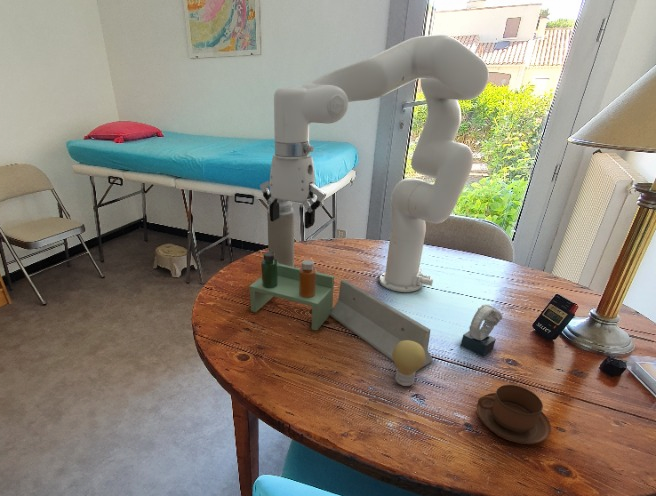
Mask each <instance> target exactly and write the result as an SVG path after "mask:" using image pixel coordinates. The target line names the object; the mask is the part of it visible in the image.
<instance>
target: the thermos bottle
mask: <svg viewBox="0 0 656 496" xmlns="http://www.w3.org/2000/svg"><path fill="white" fill-rule="evenodd" d="M277 202H279V218H278V219H277V220H275V221H270V210H269V208H268V209H267V210H266V212H267V213H266V214H267V215H266V216H267V247H268V249H267V250H268V251H267V252H274V253H275V259H276V260H277V263H279V264H283V265H288V266H292V267H295V209H294V208H293V202H292V201H286V200H280V199H279V200H278V201H277Z"/></svg>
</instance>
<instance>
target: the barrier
mask: <svg viewBox="0 0 656 496" xmlns="http://www.w3.org/2000/svg"><path fill="white" fill-rule="evenodd" d="M329 316H330V317H331V318H332V319H334V320H335V321H337V322H338V323H339V324H341V325H342V326H343V327H345V328H347V329H348V330H349V331H351V332H352V333H353V334H355V335H357V337H359V338H361V339H362V340H363V341H365V342H366V343H367V344H368V345H370V346H372V347H373V348H374V349H376V350H377V351H379V352H380V353H381V354H383V355H384V356H385V357H387V358H388V359H390V360H391V361H393V357H392V353H393V350H394V348H395V346H396V345H397V344H398V343H399V342H401V341H404V340H410V341H414V342H417V343H419V344H420V345H421V346H422V347H423V349H424V352H425V362H424V364H423V366H422V367H421V368H424V367H425V366H427V365H429V364H431V363H432V362H433V357H432V356H431V353H430V352H429V345H430V344H429V343H430V337H431V329H430V328H429V327H427V326H426V325H424V324H422V323H420V322H419V321H416V320H415V319H413V318H411V317H410V316H408V315H406V314H405V313H403V312H401V311H400V310H398V309H396V308H394V307H392V306H391V305H389V304H388V303H385V302H384V301H382V300H381V299H380V298H377V297H375V296H374V295H372V294H370V293H368V292H367V291H366V290H363V289H362V288H361V287H359V286H357V285H355V284H354V283H351V282H349V280H346V279H341V280H340V284H339V292H338V298H337V301H336V303H335V305H334V306H333V307H332V311H331V313H330V315H329Z"/></svg>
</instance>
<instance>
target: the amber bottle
mask: <svg viewBox="0 0 656 496" xmlns="http://www.w3.org/2000/svg"><path fill="white" fill-rule="evenodd" d="M314 266H315V262H314V261H313V260H311V259H304V260H302V261H301V267H299V268H300V269H299V295H300V296H301V297H303V298H311V297H314V296H315V289H316V272H317V269H316V268H315V267H314Z"/></svg>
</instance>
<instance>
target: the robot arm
mask: <svg viewBox="0 0 656 496" xmlns="http://www.w3.org/2000/svg"><path fill="white" fill-rule="evenodd" d="M489 78H490V72H489V68H488V65H487V63H486V61H484V59H483V58H481V56H479V55H477V53H475V52H474V51H472V50H471V49H470V48H468V47H467V46H466V45H465V44H463V43H462V42H461V41H460V40H458V39H457V38H455V37H452V36H451V35H448V34H442V33H441V34H431V35H419V36H415V37H411V38H409V39H406V40H404V41H402V42H400V43H398V44H396V45H393V46H391V47H390V48H388V49H385V50H383V51H382V52H380V53H379V52H378V53H377V54H374V55H373V56H371V57H368V58H365V59H362V60H360V61H356V62H354V63H352V64H349V65H347V66H343V67H341V68H338V69H335V70H333V71H330V72H327V73H324V74H323V75H321V76H318V77H316V78H313V79H311V80H310V81H308V82H306V83H304V84H302V85H301V86H283V87H279V88H277V89H276V90H275V91H274V94H273V120H274V123H273V125H274V126H273V127H274V154H273V155H272V158H271V163H270V173H269V180H267V181H264V182H263V183H260V184H259V188H260V191H261V193H262V196H263V198H264V200H265V201H266V204H267V206H268V209H269V210H270V221H275V220H277V219H278V218H279V202H277V201H278V200H279V199H280V200H286V201H291V202H292V203H300V204H302V205H303V206H304V208H305V209H306V211H305V212H304V229H306V230H307V229H310V228H311V227H313V226H314V224H315V222H316V210H317V209H318V208H319V207H320V206H321V205H323V202H324V200H325V199H326V197H327V192H325V190H323V189H321V188H320V187H318V186H317V185H316V173H315V164H314V159H313V156H312V155H310V153H313V152H314V150H315V147H314V145H311V144H310V124H311V123H313V124H314V123H315V124H329V125H330V124H334V123H337V122H338V121H340V120H342V119H343V118H344V117H345V115H346V114H347V111H348V109H349V103H350V102H358V101H360V102H361V101H370V100H374V99H379V98H382V97H384V96H386V95H387V94H389V93H392V92H393V91H396V90H397V89H399V88H401V87H403V86H405V85H408V84H410V83H411V82H413V81H416V80H420V82H419V83H420V88H421V91H422V94H423V97H424V99H425V102H426V108H427V111H426V112H427V113H426V114H427V115H426V119H425V122H424V125H423V128H422V130H421V133H420V136H419V137H418V141H417V143H416V146H415V148H414V151H413V153H412V157H411V162H410V165H411V168H412V170H413V171H414V172H415V173H417V174H420V175H423V176H424V177H425V176H426V177H429V178H433V179H435V180H434V182H433V183H432V182H430V181H427V180H423V179H419V178H415V177H408V178H407V177H406V178H403V179H401V180H400V181H398V182H397V183H396V184H395V186H394V187H393V189H392V193H391V198H390V201H391V202H390V205H391V226H390V236H389V243H388V249H387V258H386V265H385V271H384V272H383V273H381V274H380V276H379V279H378V281H379V283H380V285H381V286H383V288H385V289H388V290H390V291H394V292H399V293H412V292H416V291H418V290H420V289H421V288H422V286H423V285H425V286H429V287H433V283H434V279H432V278H431V276H430V275H425V274H423V273H422V269H421V268H420V267H421V261H422V254H423V249H424V243H425V238H426V233H427V225H426V222H427V223H429V224H434V225H435V224H436V225H439V224H441V223H443V222H446V220H447V219H448V218H449V217H450V216H451V215H452V213H453V212H454V209H455V207H456V206H457V204H458V201H459V199H460V197H461V195H462V192H463V190H464V187H465V185H466V183H467V181H468V179H469V177H470V174H471V172H472V169H473V166H474V165H473V163H474V155H473V150H472V149H471V148H470V147H469V146H468V145H467V144H464V143H462V142H458V141H455V140H456V137H457V135H458V132H459V129H460V127H461V122H462V110H461V106H460V103H459V101H470V100H474V99H476V98H478V97H479V96H480V95H481V94H482V93H484V91H485V89H486V88H487V85H488V83H489ZM315 197H316V200H314V198H315Z"/></svg>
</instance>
